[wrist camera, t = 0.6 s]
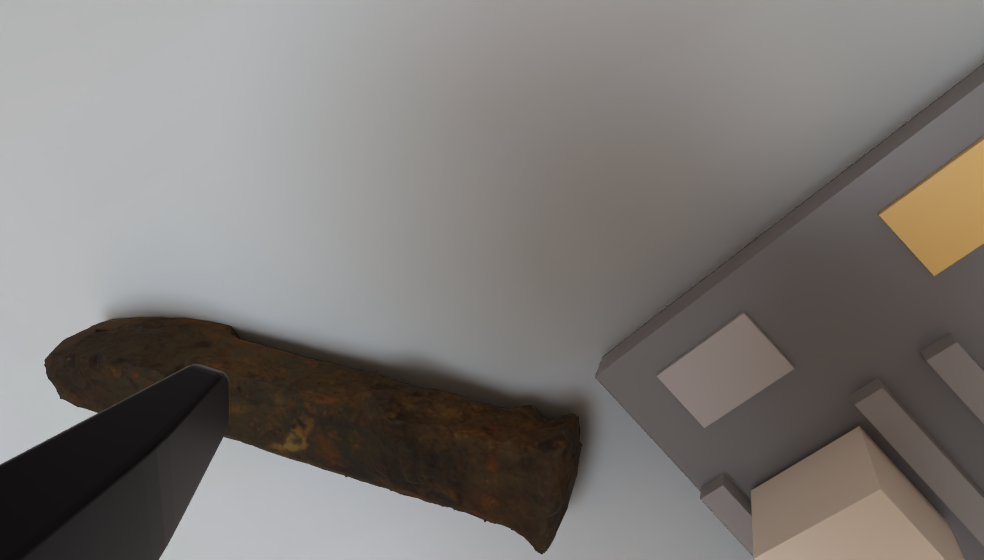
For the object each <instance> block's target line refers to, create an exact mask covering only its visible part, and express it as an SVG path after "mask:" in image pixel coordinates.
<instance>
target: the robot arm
mask: <svg viewBox="0 0 984 560" xmlns="http://www.w3.org/2000/svg"><path fill="white" fill-rule="evenodd" d="M228 420H229V382H228V377H227V375H226V374H225V373H224V372H222V371H219V370H216V369H213V368H210V367H206V366H203V365H199V364H194V365H190V366H187V367H185V368H183V369H181V370H179V371H178V372H176V373H174V374H172V375H170V376H168V377H166V378H164V379H162V380H160V381H159V382H157V383H155V384H153V385H151V386H149V387H147V388H145V389H143V390H141V391H140V392H138V393H136V394H134V395H132V396H130V397H128V398H126V399H124V400H122V401H120V402H119V403H117V404H115V405H113V406H111V407H109V408H107V409H105V410H103V411H101V412H100V413H98V414H96V415H94V416H92V417H90V418H88V419H86V420H84V421H82V422H81V423H79V424H77V425H75V426H73V427H71V428H69V429H67V430H65V431H63V432H62V433H60V434H58V435H56V436H54V437H52V438H50V439H48V440H46V441H44V442H43V443H41V444H39V445H37V446H35V447H33V448H31V449H29V450H27V451H25V452H24V453H22V454H20V455H18V456H16V457H14V458H12V459H10V460H8V461H6V462H4V463H3V464H1V465H0V560H159V558H160V557H161V555H162V553H163V552H164V550H165V549H166V547H167V545H168V543H169V541H170V539H171V538H172V536H173V534H174V532H175V530H176V528H177V526H178V524H179V522H180V520H181V519H182V517H183V515H184V513H185V511H186V509H187V507H188V505H189V503H190V501H191V499H192V497H193V495H194V493H195V491H196V489H197V487H198V485H199V483H200V481H201V480H202V478H203V476H204V474H205V472H206V470H207V468H208V466H209V464H210V462H211V460H212V458H213V456H214V454H215V452H216V450H217V448H218V446H219V444H220V442H221V441H222V439H223V436H224V434H225V432H226V429H227V425H228Z"/></svg>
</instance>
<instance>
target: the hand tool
mask: <svg viewBox="0 0 984 560" xmlns="http://www.w3.org/2000/svg"><path fill="white" fill-rule="evenodd" d="M194 364H199V365H203V366H206V367H210V368H213V369H216V370H219V371H222V372H224V373H225V374H226V375H227V377H228V382H229V420H228V425H227V429H226V432H225V434H224V436H223V437H226V438H230V439H234V440H238V441H241V442H243V443H246V444H249V445H253V446H255V447H258V448H260V449H263V450H265V451H268V452H271V453H274V454H277V455H280V456H283V457H286V458H289V459H293V460H296V461H300V462H304V463H307V464H310V465H313V466H316V467H319V468H321V469H324V470H328V471H331V472H335V473H338V474H341V475H345V477H351V478H354V479H357V480H359V481H362V482H367V483H369V484H372V485H375V486H379V487H383V488H387V489H389V490H390V491H395V492H397V493H399V494H402V495H406V496H410V497H415V498H419V499H421V500H423V501H426V502H429V503H434V504H438V505H441V506H443V507H444V506H446V507H451V508H453V509H454V510H457V511H461V512H466V513H468V514H471V515H473V516H476V517H478V518H481V519H483V520H484V522H486V521H489V522H490V523H494V524H500V525H504V526H506V527H508V528H511V530H514V531H515V532H517V533H518V534H520V535H521V536H523V537H525V539H526V540H527V541H528V542H529V543H530V544H531V545H532V546H533V547H534V549H535V550H536V551H537V552H538V553H540V554H543V553H545V552H546V551H547V549H548V548H549V546H550V545H551V543H552V541H553V540H554V537H555V535H556V532H557V530H558V528H559V526H560V523H561V521H562V519H563V517H564V515H565V512H566V510H567V508H568V504H569V500H570V496H571V493H572V490H573V487H574V483H575V479H576V476H577V471H578V463H579V457H580V452H581V447H582V444H581V443H580V427H579V416H577V415H576V414H570V415H566V416H563V417H561V418H558V419H556V420H554V421H552V420H545V419H544V418H543V417H542V415H541V414H540V413H539V412H538V411H537V410H535V409H534V408H533V407H532V406H531V405H528V406H522V407H521V408H520V407H516V408H514V409H512V410H510V409H505V408H500V407H497V406H493V405H488V404H483V403H478V402H475V401H472V400H469V399H466V398H463V397H461V396H458V395H455V394H451V393H446V392H442V391H439V390H436V389H422V388H418V387H415V386H412V385H409V384H405V383H401V382H398V381H394V380H391V379H388V378H386V377H385V376H383V375H382V374H381V373H379V372H378V371H376V372H364V371H360V370H355V369H351V368H347V367H344V366H341V365H338V364H335V363H330V362H322V361H318V360H314V359H311V358H307V357H303V356H299V355H296V354H292V353H289V352H285V351H282V350H278V349H275V348H271V347H268V346H264V345H260V344H257V343H253V342H249V341H245V340H241V339H240V338H239V336H238V334H237V332H236V331H235V330H234V329H233V328H232V327H231V326H228V325H224V324H220V323H215V322H209V321H203V320H195V319H185V318H129V319H112V320H108V321H105V322H101V323H98V324H96V325H93V326H91V327H90V328H88V329H86V330H83V331H81V332H79V333H77V334H75V335H73V336H71V337H69V338H67V339H65V340H63V341H62V342H61V343H60V344H59V345H58V346H57V347H56V348H55V349H54V350H53V351H52V352H51V353H50V354H49V355H48V357H47V358H46V359H45V364H44V365H45V367H46V374H47V376H48V379H49V380H50V381H51V382H52V383H53V385H54V386H55V388H56V390H57V392H58V394H59V396H60V399H64V400H66V401H68V402H70V403H71V404H73V405H75V406H77V407H81V408H85V409H88V410H91V411H94V412H97V413H100V412H101V411H103V410H105V409H107V408H109V407H111V406H113V405H115V404H117V403H119V402H120V401H122V400H124V399H126V398H128V397H130V396H132V395H134V394H136V393H138V392H140V391H141V390H143V389H145V388H147V387H149V386H151V385H153V384H155V383H157V382H159V381H160V380H162V379H164V378H166V377H168V376H170V375H172V374H174V373H176V372H178V371H179V370H181V369H183V368H185V367H187V366H190V365H194Z"/></svg>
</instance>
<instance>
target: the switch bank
mask: <svg viewBox="0 0 984 560" xmlns="http://www.w3.org/2000/svg"><path fill="white" fill-rule="evenodd" d="M595 378H596V379H597V380H598V381H599V382H600V383H601V384H602V385H603V386H604V387H605V388H606V390H607V391H608V392H609V393H610V394H611V395H612V396H613V397H614V398H615V399H616V400H617V401H618V403H619V404H620V405H621V406H622V407H623V408H624V409H625V410H626V411H627V412H628V413H629V414H630V416H631V417H632V418H633V419H634V420H635V421H636V422H637V423H638V424H639V425H640V426H641V427H642V429H643V430H644V431H645V432H646V433H647V434H648V435H649V436H650V437H651V438H652V439H653V440H654V442H655V443H656V444H657V445H658V446H659V447H660V448H661V449H662V450H663V451H664V452H665V453H666V455H667V456H668V457H669V458H670V459H671V460H672V461H673V462H674V463H675V464H676V465H677V466H678V468H679V469H680V470H681V471H682V472H683V473H684V474H685V475H686V476H687V477H688V478H689V479H690V481H691V482H692V483H693V484H694V485H695V486H696V487H697V488H698V489H699V490H700V491H701V497H700V499H701V500H702V501H703V503H704V504H705V505H706V506H707V507H708V508H709V509H710V510H711V511H712V512H713V513H714V514H715V516H716V517H717V518H718V519H719V520H720V521H721V522H722V523H723V524H724V525H725V526H726V527H727V529H728V530H729V531H730V532H731V533H732V534H733V535H734V536H735V537H736V538H737V539H738V540H739V542H740V543H741V544H742V545H743V546H744V547H745V548H746V549H747V550H748V551H749V552H750V553H751V555H752V556H753V557H754V555H753V532H752V508H751V490H753V489H755V488H756V487H758V486H760V485H761V484H763V483H765V482H766V481H768V480H770V479H771V478H773V477H775V476H776V475H778V474H780V473H781V472H783V471H785V470H786V469H788V468H790V467H791V466H793V465H795V464H796V463H798V462H800V461H801V460H803V459H805V458H806V457H808V456H810V455H812V454H813V453H815V452H817V451H818V450H820V449H822V448H823V447H825V446H827V445H828V444H830V443H832V442H833V441H835V440H837V439H838V438H840V437H842V436H843V435H845V434H847V433H848V432H850V431H852V430H853V429H855V428H857V427H858V426H860V427H861V428H862V429H863V430H864V431H865V432H866V433H867V435H868V436H869V437H870V438H871V439H872V440H873V441H874V442H875V443H876V444H877V445H878V447H879V448H880V449H881V450H882V451H883V452H884V453H885V454H886V455H887V456H888V457H889V459H890V460H891V461H892V462H893V463H894V464H895V465H896V466H897V467H898V468H899V469H900V471H901V472H902V473H903V474H904V475H905V476H906V477H907V478H908V479H909V480H910V482H911V483H912V484H913V485H914V486H915V487H916V488H917V489H918V490H919V491H920V492H921V494H922V495H923V496H924V497H925V498H926V499H927V500H928V501H929V502H930V503H931V504H932V506H933V507H934V508H935V509H936V510H937V511H938V512H939V513H940V514H941V515H942V516H943V518H944V519H945V520H946V521H947V522H948V524H949V526H950V528H951V530H952V533H953V535H954V537H955V539H956V542H957V544H958V546H959V548H960V550H961V553H962V555H963V557H964V559H965V560H984V64H983V65H982V66H980V67H979V68H978V69H976V70H975V71H974V72H972V73H971V74H970V75H969V76H967V77H966V78H965V79H963V80H962V81H961V82H959V83H958V84H957V85H956V86H954V87H953V88H952V89H950V90H949V91H948V92H946V93H945V94H944V95H943V96H941V97H940V98H939V99H937V100H936V101H935V102H933V103H932V104H931V105H930V106H928V107H927V108H926V109H924V110H923V111H922V112H920V113H919V114H918V115H917V116H915V117H914V118H913V119H911V120H910V121H909V122H907V123H906V124H905V125H904V126H902V127H901V128H900V129H898V130H897V131H896V132H894V133H893V134H892V135H891V136H889V137H888V138H887V139H885V140H884V141H883V142H881V143H880V144H879V145H878V146H876V147H875V148H874V149H872V150H871V151H870V152H868V153H867V154H866V155H865V156H863V157H862V158H861V159H859V160H858V161H857V162H855V163H854V164H853V165H852V166H850V167H849V168H848V169H846V170H845V171H844V172H842V173H841V174H840V175H839V176H837V177H836V178H835V179H833V180H832V181H831V182H829V183H828V184H827V185H826V186H824V187H823V188H822V189H820V190H819V191H818V192H816V193H815V194H814V195H813V196H811V197H810V198H809V199H807V200H806V201H805V202H803V203H802V204H801V205H800V206H798V207H797V208H796V209H794V210H793V211H792V212H790V213H789V214H788V215H787V216H785V217H784V218H783V219H781V220H780V221H779V222H777V223H776V224H775V225H774V226H772V227H771V228H770V229H768V230H767V231H766V232H764V233H763V234H762V235H761V236H759V237H758V238H757V239H755V240H754V241H753V242H751V243H750V244H749V245H748V246H746V247H745V248H744V249H742V250H741V251H740V252H738V253H737V254H736V255H735V256H733V257H732V258H731V259H729V260H728V261H727V262H725V263H724V264H723V265H722V266H720V267H719V268H718V269H716V270H715V271H714V272H712V273H711V274H710V275H709V276H707V277H706V278H705V279H703V280H702V281H701V282H699V283H698V284H697V285H696V286H694V287H693V288H692V289H690V290H689V291H688V292H686V293H685V294H684V295H683V296H681V297H680V298H679V299H677V300H676V301H675V302H673V303H672V304H671V305H670V306H668V307H667V308H666V309H664V310H663V311H662V312H660V313H659V314H658V315H657V316H655V317H654V318H653V319H651V320H650V321H649V322H647V323H646V324H645V325H644V326H642V327H641V328H640V329H638V330H637V331H636V332H634V333H633V334H632V335H631V336H629V337H628V338H627V339H625V340H624V341H623V342H621V343H620V344H619V345H618V346H616V347H615V348H614V349H612V350H611V351H610V352H608V353H607V354H606V355H605V356H603V358H602V360H601V363H600V365H599V368H598V370H597V373H596V375H595Z"/></svg>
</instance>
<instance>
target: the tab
mask: <svg viewBox="0 0 984 560" xmlns="http://www.w3.org/2000/svg"><path fill="white" fill-rule="evenodd" d="M751 508H752V532H753V555H754V560H965V559H964V557H963V555H962V553H961V550H960V548H959V546H958V544H957V542H956V539H955V537H954V535H953V533H952V530H951V528H950V526H949V524H948V522H947V521H946V520H945V519H944V518H943V516H942V515H941V514H940V513H939V512H938V511H937V510H936V509H935V508H934V507H933V506H932V504H931V503H930V502H929V501H928V500H927V499H926V498H925V497H924V496H923V495H922V494H921V492H920V491H919V490H918V489H917V488H916V487H915V486H914V485H913V484H912V483H911V482H910V480H909V479H908V478H907V477H906V476H905V475H904V474H903V473H902V472H901V471H900V469H899V468H898V467H897V466H896V465H895V464H894V463H893V462H892V461H891V460H890V459H889V457H888V456H887V455H886V454H885V453H884V452H883V451H882V450H881V449H880V448H879V447H878V445H877V444H876V443H875V442H874V441H873V440H872V439H871V438H870V437H869V436H868V435H867V433H866V432H865V431H864V430H863V429H862V428H861V427H860V426H858V427H857V428H855V429H853V430H852V431H850V432H848V433H847V434H845V435H843V436H842V437H840V438H838V439H837V440H835V441H833V442H832V443H830V444H828V445H827V446H825V447H823V448H822V449H820V450H818V451H817V452H815V453H813V454H812V455H810V456H808V457H806V458H805V459H803V460H801V461H800V462H798V463H796V464H795V465H793V466H791V467H790V468H788V469H786V470H785V471H783V472H781V473H780V474H778V475H776V476H775V477H773V478H771V479H770V480H768V481H766V482H765V483H763V484H761V485H760V486H758V487H756V488H755V489H753V490H751Z"/></svg>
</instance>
